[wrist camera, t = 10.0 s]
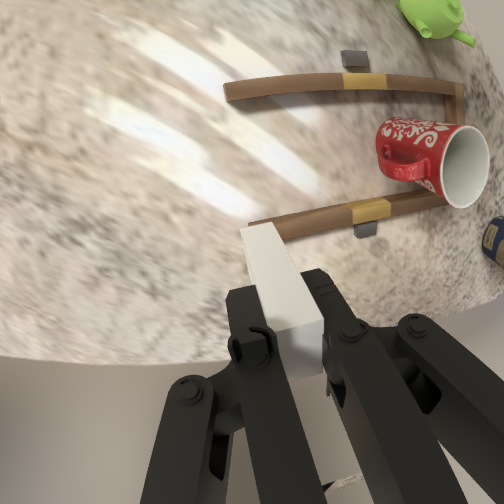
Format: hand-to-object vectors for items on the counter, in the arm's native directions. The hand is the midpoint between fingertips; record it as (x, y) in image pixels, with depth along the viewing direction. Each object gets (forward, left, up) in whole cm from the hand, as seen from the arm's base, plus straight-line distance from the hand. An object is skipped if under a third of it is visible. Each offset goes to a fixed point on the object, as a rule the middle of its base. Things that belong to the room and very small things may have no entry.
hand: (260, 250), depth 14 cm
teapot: (-19, +29, -21) cm, 41 cm away
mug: (0, +21, -21) cm, 30 cm away
